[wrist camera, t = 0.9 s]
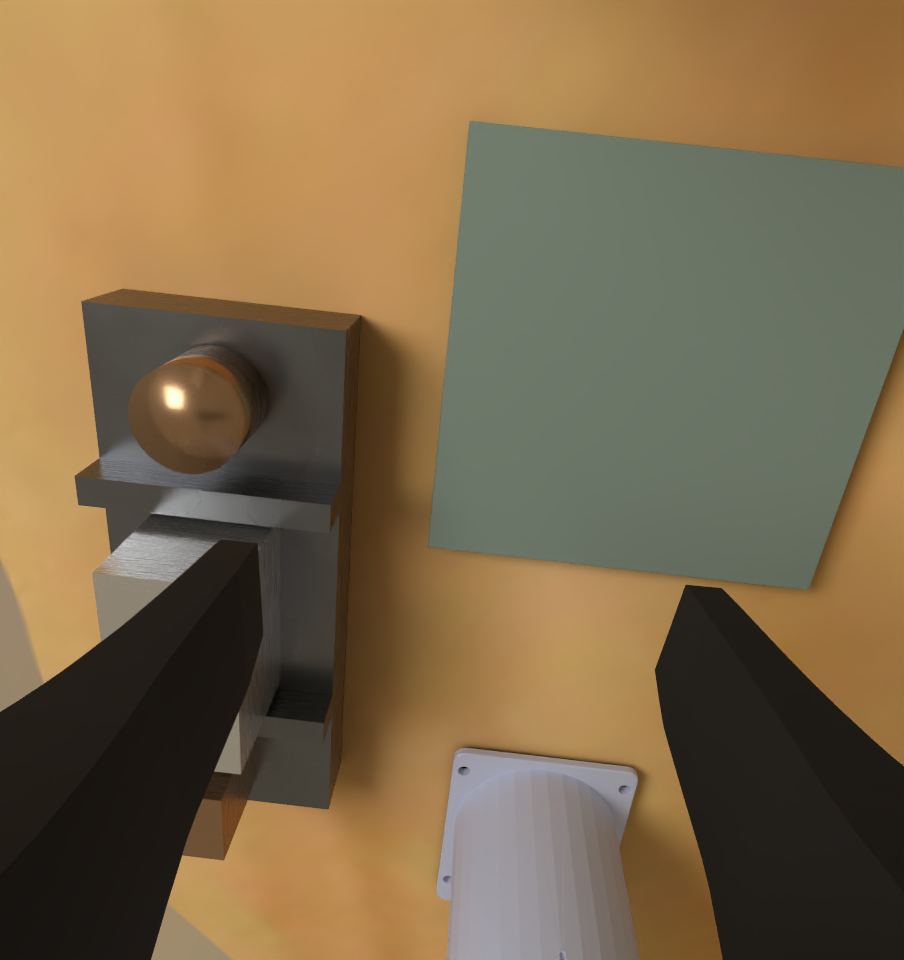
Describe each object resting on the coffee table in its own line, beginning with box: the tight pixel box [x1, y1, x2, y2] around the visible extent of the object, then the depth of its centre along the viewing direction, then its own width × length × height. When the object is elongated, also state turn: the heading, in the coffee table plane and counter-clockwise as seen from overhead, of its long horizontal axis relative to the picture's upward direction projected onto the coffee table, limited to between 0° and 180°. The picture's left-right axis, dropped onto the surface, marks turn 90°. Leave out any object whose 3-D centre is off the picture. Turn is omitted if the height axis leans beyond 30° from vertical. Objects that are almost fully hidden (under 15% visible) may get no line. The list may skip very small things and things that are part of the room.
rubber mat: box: [428, 121, 904, 590], centre depth 23 cm, size 14×14×1 cm
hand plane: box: [75, 289, 361, 860], centre depth 24 cm, size 20×8×6 cm, turn 174°
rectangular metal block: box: [92, 513, 281, 774], centre depth 23 cm, size 7×4×4 cm, turn 174°
